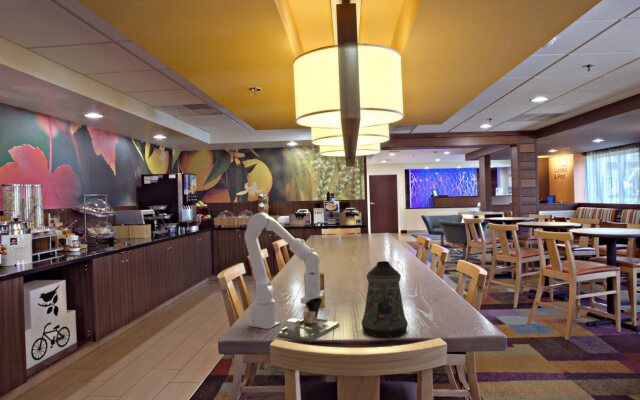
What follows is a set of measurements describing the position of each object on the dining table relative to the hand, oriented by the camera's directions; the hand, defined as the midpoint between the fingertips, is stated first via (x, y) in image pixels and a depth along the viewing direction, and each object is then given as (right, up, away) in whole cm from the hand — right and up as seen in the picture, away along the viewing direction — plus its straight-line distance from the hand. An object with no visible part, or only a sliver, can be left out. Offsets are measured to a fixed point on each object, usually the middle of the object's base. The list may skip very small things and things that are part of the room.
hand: (313, 317), depth 166 cm
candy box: (0, -2, +26) cm, 26 cm away
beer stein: (+26, -2, -10) cm, 28 cm away
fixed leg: (-5, -2, -13) cm, 14 cm away
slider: (+1, -1, -4) cm, 4 cm away
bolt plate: (-1, -3, -8) cm, 9 cm away
